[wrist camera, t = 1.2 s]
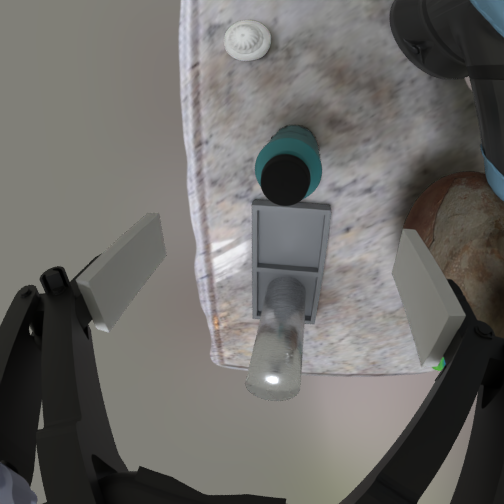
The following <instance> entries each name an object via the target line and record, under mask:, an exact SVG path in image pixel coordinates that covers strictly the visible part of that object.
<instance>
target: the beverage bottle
mask: <svg viewBox="0 0 504 504" xmlns="http://www.w3.org/2000/svg"><path fill="white" fill-rule="evenodd" d="M291 125H292V124H291ZM307 129H308V128H307ZM307 129H306V128H304V127H301V126H299V125H298V126H296V125H292V126H285V127H284V128H281V129H279V131H277V134H276V135H275V136H274V137H273V136H272V137H271V140H270V141H269V140H268V141H269V143H268V144H267V145H266V146H265V147H264V148H263V149H262V150H261V151H260V153H259V155H258V157H257V160H256V164H255V174H256V178H257V181H258V183H259V185H260V186H261V189H262V191H263V193H264V195H265V196H266V197H267V198H268V199H269V200H270V201H271V202H273V203H274V204H277V205H280V206H290V205H294V204H296V203H298V202H300V201H301V200H302V199H304V198H306V197H307V196H309V195H310V194H312V193H313V192H314V191H315V189H316V188H317V187H318V185H319V183H320V180H321V176H322V165H321V161H320V156H321V154H319V151H320V149H318V146H319V145H318V146H317V142H316V139H315V138H316V137H314V136H313V134H312V132H311V131H309V129H308V130H307ZM268 141H267V142H268ZM318 150H319V151H318Z"/></svg>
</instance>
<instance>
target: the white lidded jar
mask: <svg viewBox="0 0 504 504" xmlns="http://www.w3.org/2000/svg"><path fill="white" fill-rule="evenodd" d="M270 45H271V34H270V32H269V30H268V29H267V28H266V27H265V26H264V25H263V24H261V23H259V22H257V21H253V20H244V21H239V22H237V23H235V24H233V25H232V26H231V27H230V28H229V29H228V30H227V32H226V34H225V37H224V46H225V49H226V51H227V52H228V54H229V55H230V56H232V57H233V58H235V59H237V60H240V61H252V60H256V59H259V58H261V57H263V56H264V55H265V54H266V53H267V51H268V50H269V48H270Z"/></svg>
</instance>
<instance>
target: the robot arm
mask: <svg viewBox="0 0 504 504" xmlns="http://www.w3.org/2000/svg"><path fill="white" fill-rule="evenodd" d="M390 25H391V30H392V33H393V36H394V38H395V40H396V42H397V44H398V46H399V47H400V49H401V50H402V52H403V53H404V54H405V55H406V57H407V58H408V59H409V60H410V61H411V62H412V63H413V64H414V65H416V66H417V67H418V68H420V69H421V70H422V71H424V72H426V73H428V74H430V75H432V76H434V77H437V78H441V79H461V78H465V77H467V76H469V77H470V82H471V86H472V91H473V95H474V100H475V105H476V111H477V116H478V122H479V129H480V136H481V145H480V147H481V152H482V155H483V157H484V165H485V174H486V179H487V182H488V184H489V185H490V187H491V188H492V190H493V192H494V193H495V194H496V195H497V196H498V197H499V198H500V199H501V200H502V201H504V0H395V1H394V3H393V5H392V7H391V11H390ZM166 256H167V255H166V250H165V244H164V239H163V233H162V227H161V221H160V215H159V213H147V214H146V215H145V216H144V217H142V218H141V219H140V220H139V221H138V222H137V223H135V224H134V225H133V226H132V227H131V228H130V229H129V230H128V231H126V232H125V233H124V234H123V235H122V236H121V237H120V238H119V239H117V240H116V241H115V242H114V243H113V244H112V245H111V246H110V247H109V248H108V249H107V250H106V251H104V252H103V253H102V254H100V255H99V256H97V257H95V258H94V259H93V260H92V261H91V262H90V263H89V264H88V265H87V266H86V267H85V268H84V269H83V270H82V271H80V273H78V275H77V276H75V277H74V278H73V280H71V282H69V279H68V277H67V274H66V272H65V269H64V268H63V267H59V266H57V267H53V268H51V269H48V270H47V271H45V272H44V273H43V274H42V275H41V277H40V282H41V284H42V286H43V288H44V291H45V293H44V294H39V293H38V290H37V288H36V286H34V285H28V286H25V287H23V288H21V290H19V291H18V293H17V294H16V296H15V297H14V299H13V301H12V303H11V305H10V307H9V309H8V311H7V313H6V315H5V317H4V319H3V322H2V324H1V326H0V504H36V503H37V496H36V494H35V493H34V492H33V491H32V490H31V489H30V486H31V482H32V477H33V472H34V462H35V451H36V445H37V453H38V459H39V466H40V471H41V477H42V482H43V486H44V491H45V495H46V499H47V502H46V503H43V504H286V499H285V498H273V497H265V496H264V497H263V496H257V495H249V494H243V495H206V494H202V493H201V492H199V491H197V490H195V489H193V488H191V487H189V486H187V485H185V484H184V483H182V482H180V481H178V480H176V479H174V478H173V477H170V476H167V475H164V474H161V473H158V472H155V471H152V470H149V469H147V468H144V467H141V466H139V469H138V471H128V469H127V467H126V465H125V464H124V462H123V461H122V459H121V458H120V456H119V454H118V451H117V448H116V445H115V442H114V438H113V435H112V432H111V428H110V425H109V421H108V417H107V413H106V409H105V405H104V401H103V397H102V392H101V388H100V383H99V378H98V373H97V367H96V362H95V356H94V349H93V343H92V336H91V329H90V327H89V325H88V324H89V322H90V321H91V320H93V322H94V324H95V326H96V328H97V329H99V330H103V331H107V332H110V331H111V329H112V328H113V326H114V325H115V324H116V322H117V321H118V319H119V318H120V317H121V315H122V314H123V312H124V311H125V309H126V308H127V307H128V306H129V304H130V303H131V301H132V300H133V299H134V297H135V296H136V295H137V293H138V292H139V291H140V289H141V288H142V287H143V285H144V284H145V283H146V281H147V280H148V279H149V278H150V276H151V275H152V274H153V272H154V271H155V270H156V268H157V267H158V266H159V265H160V263H161V262H162V261H163V260H164V258H165V257H166ZM392 275H393V277H394V280H395V283H396V286H397V288H398V291H399V294H400V297H401V300H402V303H403V306H404V309H405V312H406V315H407V318H408V321H409V325H410V328H411V331H412V334H413V338H414V341H415V345H416V348H417V352H418V356H419V360H420V363H421V367H436V366H438V364H439V363H440V361H441V359H442V358H443V357H444V360H445V363H446V364H445V366H444V368H443V369H442V371H441V372H440V374H439V375H438V377H437V378H436V379H435V383H434V385H433V387H432V388H431V390H430V392H429V393H428V395H427V397H426V398H425V400H424V401H423V403H422V404H421V406H420V408H419V409H418V411H417V412H416V414H415V415H414V417H413V418H412V419H411V421H410V422H409V424H408V425H407V427H406V428H405V430H404V431H403V432H402V434H401V435H400V436H399V438H398V439H397V440H396V442H395V443H394V444H393V445H392V447H391V448H390V449H389V450H388V452H387V453H386V454H385V455H384V457H383V458H382V459H381V460H380V462H379V463H378V464H377V465H376V466H375V467H374V468H373V470H372V471H371V472H370V473H369V474H368V475H367V476H366V478H364V480H363V481H362V482H361V483H360V484H359V485H358V486H357V487H356V488H355V489H354V490H353V491H352V492H351V493H350V494H349V495H348V496H347V497H346V498H345V499H344V500H342V501H341V502H340V503H339V504H417V502H418V500H419V499H420V497H421V496H422V494H423V493H424V491H425V490H426V488H427V487H428V486H429V484H430V483H431V481H432V479H433V478H434V476H435V475H436V473H437V472H438V470H439V469H440V467H441V465H442V463H443V462H444V460H445V458H446V457H447V455H448V453H449V452H450V450H451V448H452V446H453V444H454V442H455V440H456V439H457V437H458V435H459V433H460V430H461V429H462V427H463V425H464V422H465V420H466V418H467V416H468V414H469V411H470V409H471V407H472V404H473V402H474V400H475V397H476V395H477V392H478V396H477V403H476V410H475V415H474V421H473V426H472V431H471V436H470V440H469V445H468V449H467V453H466V456H465V460H464V464H463V467H462V471H461V474H460V477H459V480H458V483H457V486H456V489H455V492H454V495H453V497H452V500H451V503H450V504H504V338H501V337H497V336H495V333H494V331H493V329H492V328H491V327H490V326H489V325H488V324H487V323H485V322H483V321H480V320H477V318H476V316H475V314H474V312H473V310H472V309H471V307H470V305H469V303H468V301H467V299H466V298H465V296H464V295H463V292H462V291H461V289H460V287H459V286H458V285H457V284H456V283H455V282H454V281H453V280H452V279H446V278H445V276H444V274H443V273H442V271H441V269H440V267H439V266H438V264H437V262H436V261H435V259H434V258H433V256H432V254H431V253H430V251H429V250H428V248H427V246H426V245H425V243H424V242H423V240H422V239H421V237H420V236H419V234H418V233H417V231H416V230H412V229H403V230H402V234H401V239H400V243H399V247H398V251H397V255H396V259H395V263H394V267H393V271H392ZM29 326H30V328H31V329H32V331H33V332H32V334H31V335H30V333H29ZM41 402H42V405H43V418H44V428H43V429H40V430H38V422H39V415H40V408H41Z"/></svg>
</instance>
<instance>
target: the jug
mask: <svg viewBox="0 0 504 504" xmlns="http://www.w3.org/2000/svg"><path fill="white" fill-rule="evenodd" d="M403 229H412V230H416V231H417V233H418V234H419V236H420V237H421V239H422V240H423V242H424V243H425V245H426V246H427V248H428V250H429V251H430V253H431V254H432V256H433V258H434V259H435V261H436V262H437V264H438V266H439V267H440V269H441V271H442V273H443V274H444V276H445V278H446V279H452V280H453V281H454V282H455V283H456V284H457V285H458V286H459V287H460V289H461V291H462V292H463V295H464V296H465V298H466V299H467V301H468V303H469V305H470V307H471V309H472V310H473V312H474V314H475V316H476V318H477V320H480V321H483V322H485V323H487V324H488V325H489V326H490V327H491V328H492V329H493V331H494V333H495V336H497V337H501V338H504V201H502V200H501V199H500V198H499V197H498V196H497V195H496V194H495V193H494V192H493V190H492V188H491V187H490V185H489V184H488V182H487V179H486V174H484V173H480V172H472V171H466V172H458V173H454V174H450V175H448V176H445V177H443V178H441V179H439V180H438V181H436V182H434V183H433V184H431V185H430V186H429V187H428V188H427V189H426V190H425V191H424V192H423V193H422V194H421V195H420V197H419V198H418V199H417V200H416V202H415V203H414V205H413V207H412V208H411V210H410V212H409V214H408V216H407V219H406V221H405V223H404V227H403Z"/></svg>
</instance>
